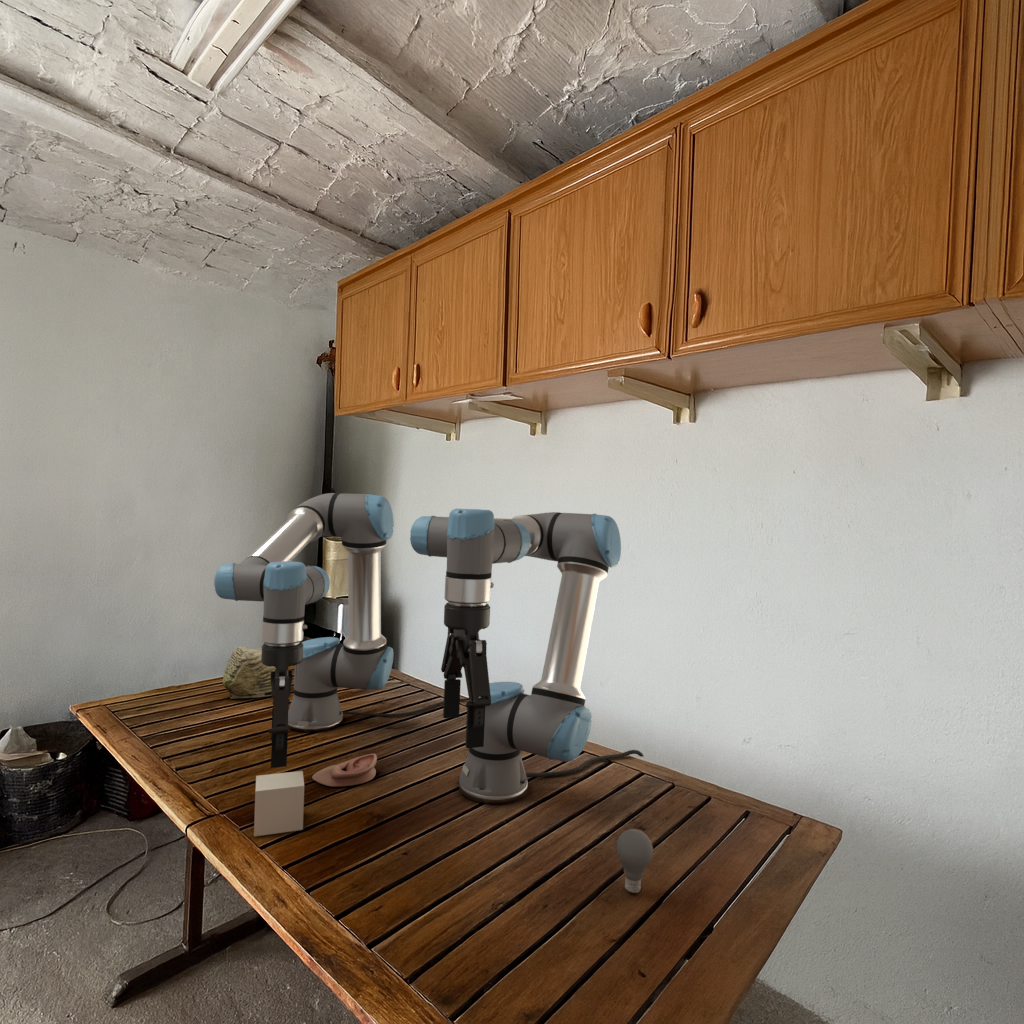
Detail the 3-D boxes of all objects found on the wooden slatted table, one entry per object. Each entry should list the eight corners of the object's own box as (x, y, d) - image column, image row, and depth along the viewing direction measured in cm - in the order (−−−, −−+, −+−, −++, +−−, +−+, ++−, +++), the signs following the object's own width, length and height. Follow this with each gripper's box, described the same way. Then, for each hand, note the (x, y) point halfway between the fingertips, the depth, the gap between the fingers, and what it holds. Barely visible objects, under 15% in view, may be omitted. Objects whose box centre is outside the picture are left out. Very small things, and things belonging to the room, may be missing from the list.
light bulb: (610, 879, 108) (613, 822, 108) (644, 879, 109) (647, 822, 109) (619, 902, 102) (622, 840, 102) (655, 901, 103) (658, 840, 103)
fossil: (218, 695, 195) (220, 647, 195) (278, 685, 208) (279, 640, 207) (228, 703, 189) (230, 653, 188) (289, 692, 201) (290, 645, 201)
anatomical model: (305, 765, 139) (330, 745, 150) (304, 783, 139) (330, 762, 151) (361, 773, 137) (383, 752, 148) (360, 791, 137) (382, 769, 148)
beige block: (253, 836, 117) (255, 791, 117) (254, 818, 124) (256, 775, 124) (302, 829, 120) (304, 785, 120) (301, 812, 127) (302, 770, 127)
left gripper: (306, 657, 111) (301, 777, 112) (300, 628, 135) (296, 728, 135) (260, 659, 109) (255, 781, 109) (263, 629, 132) (259, 731, 132)
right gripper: (516, 616, 94) (510, 758, 94) (467, 591, 117) (462, 705, 117) (467, 617, 91) (461, 764, 91) (427, 591, 114) (422, 708, 115)
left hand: (278, 752), depth 122 cm, fingers open, 13 cm apart
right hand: (462, 731), depth 104 cm, fingers open, 13 cm apart
